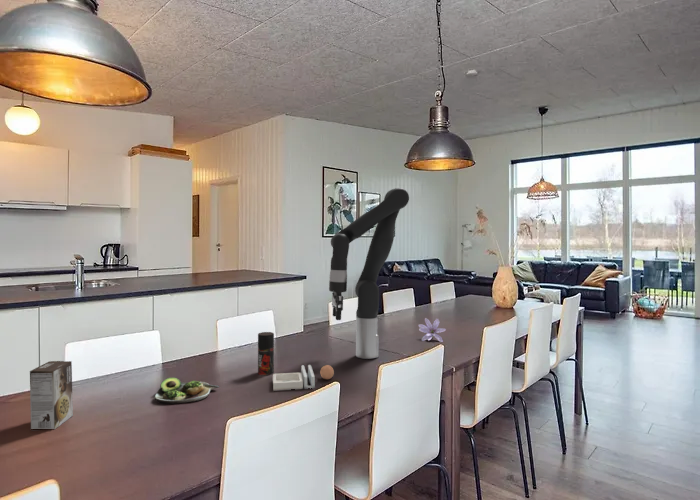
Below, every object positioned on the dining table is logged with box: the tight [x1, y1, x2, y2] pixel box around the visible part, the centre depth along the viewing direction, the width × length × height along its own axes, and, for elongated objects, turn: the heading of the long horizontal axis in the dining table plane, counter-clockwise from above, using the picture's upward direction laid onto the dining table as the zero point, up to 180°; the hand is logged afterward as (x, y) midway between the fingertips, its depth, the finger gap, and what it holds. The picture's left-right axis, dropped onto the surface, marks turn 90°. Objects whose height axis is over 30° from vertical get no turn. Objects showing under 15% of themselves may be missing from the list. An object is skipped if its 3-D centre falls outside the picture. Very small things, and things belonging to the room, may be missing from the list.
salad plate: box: [153, 377, 220, 405], centre depth 143 cm, size 19×18×5 cm
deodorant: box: [257, 331, 275, 376], centre depth 165 cm, size 6×6×15 cm
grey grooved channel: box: [300, 364, 316, 390], centre depth 155 cm, size 4×14×4 cm, turn 11°
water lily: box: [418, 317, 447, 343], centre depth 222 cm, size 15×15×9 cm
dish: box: [272, 371, 304, 392], centre depth 152 cm, size 10×10×3 cm
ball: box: [319, 364, 335, 380], centre depth 159 cm, size 5×5×5 cm
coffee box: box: [29, 360, 74, 430], centre depth 120 cm, size 9×6×16 cm
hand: (336, 318), depth 186 cm, fingers open, 8 cm apart
